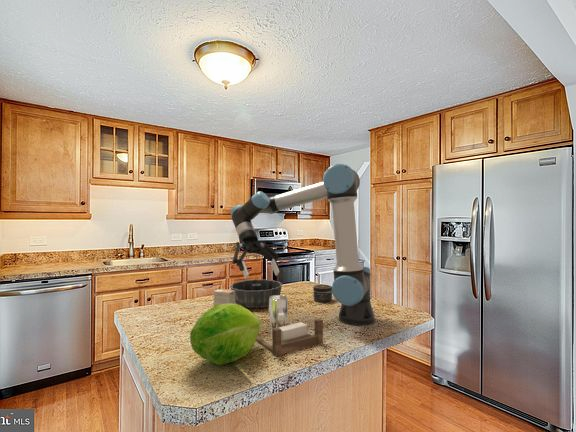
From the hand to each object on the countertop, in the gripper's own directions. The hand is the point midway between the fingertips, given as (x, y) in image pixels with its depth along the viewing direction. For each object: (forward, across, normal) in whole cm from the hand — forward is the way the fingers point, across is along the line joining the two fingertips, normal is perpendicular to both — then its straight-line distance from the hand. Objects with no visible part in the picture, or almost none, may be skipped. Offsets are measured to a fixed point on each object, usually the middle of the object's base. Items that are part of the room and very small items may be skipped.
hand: (262, 275), depth 123 cm
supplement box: (+3, +9, -27) cm, 29 cm away
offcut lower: (+29, -1, +1) cm, 29 cm away
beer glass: (+23, -1, -7) cm, 24 cm away
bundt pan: (-9, -14, -40) cm, 43 cm away
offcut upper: (+27, 0, +3) cm, 27 cm away
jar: (0, -47, -30) cm, 55 cm away
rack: (+26, -1, -4) cm, 26 cm away
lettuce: (+28, +21, -2) cm, 35 cm away
